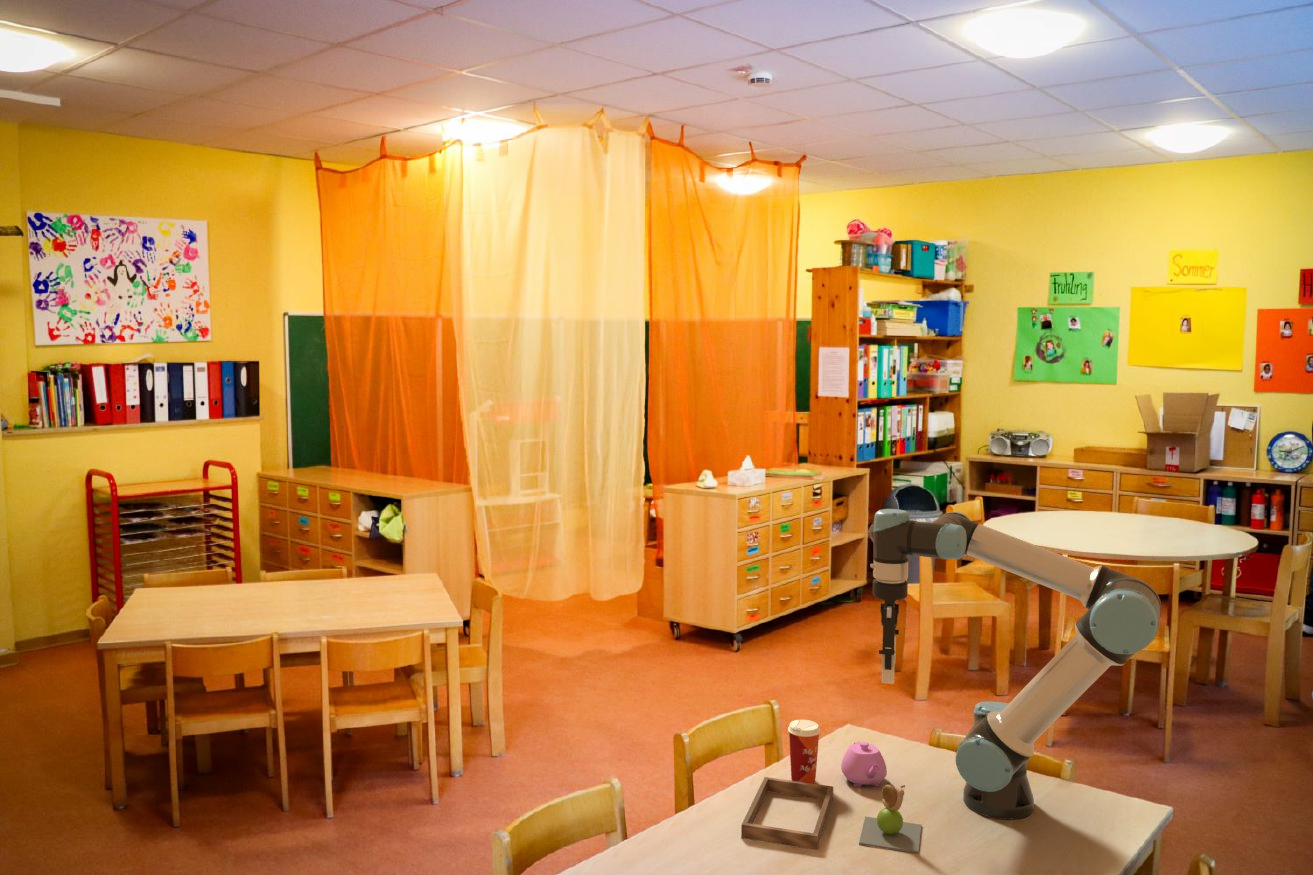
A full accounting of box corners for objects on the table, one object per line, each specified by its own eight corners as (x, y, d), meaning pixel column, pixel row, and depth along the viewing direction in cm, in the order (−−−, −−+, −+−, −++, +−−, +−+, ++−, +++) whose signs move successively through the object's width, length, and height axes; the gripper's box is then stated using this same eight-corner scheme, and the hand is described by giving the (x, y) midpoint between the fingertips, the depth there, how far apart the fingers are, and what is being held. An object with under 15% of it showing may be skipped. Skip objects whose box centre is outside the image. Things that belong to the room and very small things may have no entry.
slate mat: (921, 826, 216) (921, 824, 216) (918, 853, 205) (918, 851, 205) (865, 817, 220) (865, 816, 220) (859, 844, 208) (859, 842, 208)
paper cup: (809, 791, 232) (810, 733, 231) (781, 782, 237) (781, 725, 236) (825, 779, 239) (826, 723, 237) (797, 771, 243) (798, 715, 242)
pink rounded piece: (874, 767, 245) (875, 731, 245) (897, 795, 231) (898, 756, 230) (833, 770, 244) (834, 733, 243) (854, 798, 229) (855, 759, 228)
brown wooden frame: (833, 798, 229) (833, 786, 228) (817, 849, 206) (817, 836, 206) (764, 789, 234) (764, 776, 233) (741, 837, 211) (741, 824, 211)
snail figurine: (892, 843, 208) (894, 788, 207) (871, 830, 213) (872, 776, 212) (911, 837, 210) (913, 782, 209) (890, 824, 216) (891, 771, 215)
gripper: (875, 566, 233) (873, 654, 235) (870, 592, 209) (868, 690, 211) (908, 567, 232) (906, 656, 234) (907, 594, 207) (905, 693, 210)
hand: (888, 672), depth 223 cm, fingers open, 13 cm apart
